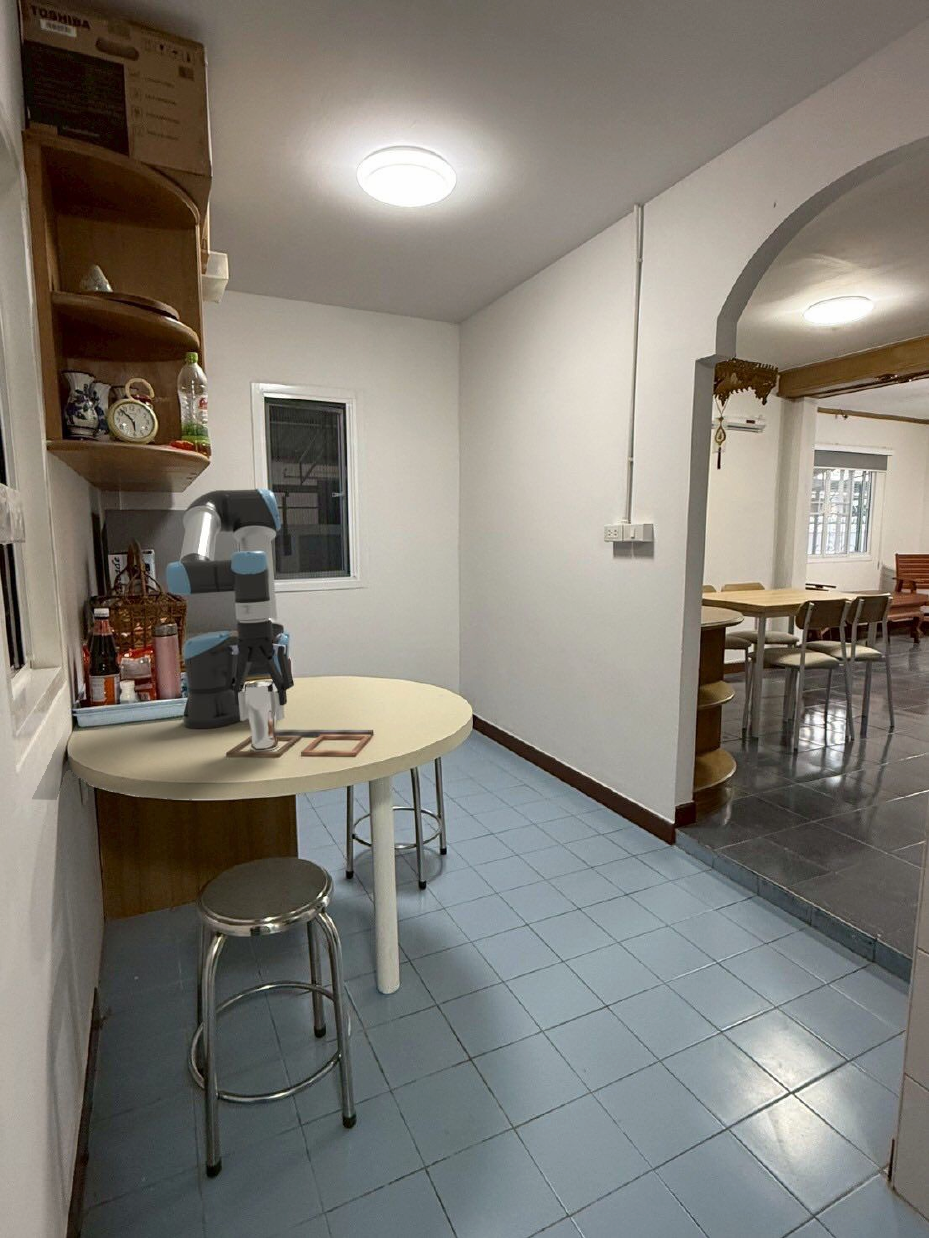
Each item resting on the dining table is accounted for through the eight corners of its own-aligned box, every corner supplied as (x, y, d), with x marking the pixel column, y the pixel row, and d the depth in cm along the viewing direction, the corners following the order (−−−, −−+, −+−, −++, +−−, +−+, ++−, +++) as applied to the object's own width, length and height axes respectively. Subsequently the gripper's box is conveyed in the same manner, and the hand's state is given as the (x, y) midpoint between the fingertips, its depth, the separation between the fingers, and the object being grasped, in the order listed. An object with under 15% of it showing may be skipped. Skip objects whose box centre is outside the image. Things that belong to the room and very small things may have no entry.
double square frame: (226, 756, 145) (225, 751, 145) (258, 734, 161) (257, 729, 161) (354, 757, 141) (353, 752, 141) (374, 734, 157) (374, 729, 156)
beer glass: (267, 740, 155) (262, 678, 153) (287, 745, 151) (282, 681, 149) (242, 749, 150) (237, 685, 148) (262, 754, 146) (256, 688, 144)
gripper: (202, 623, 144) (211, 723, 147) (291, 621, 141) (299, 723, 144) (219, 618, 152) (228, 714, 155) (304, 616, 149) (312, 714, 152)
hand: (262, 718), depth 150 cm, fingers open, 8 cm apart
